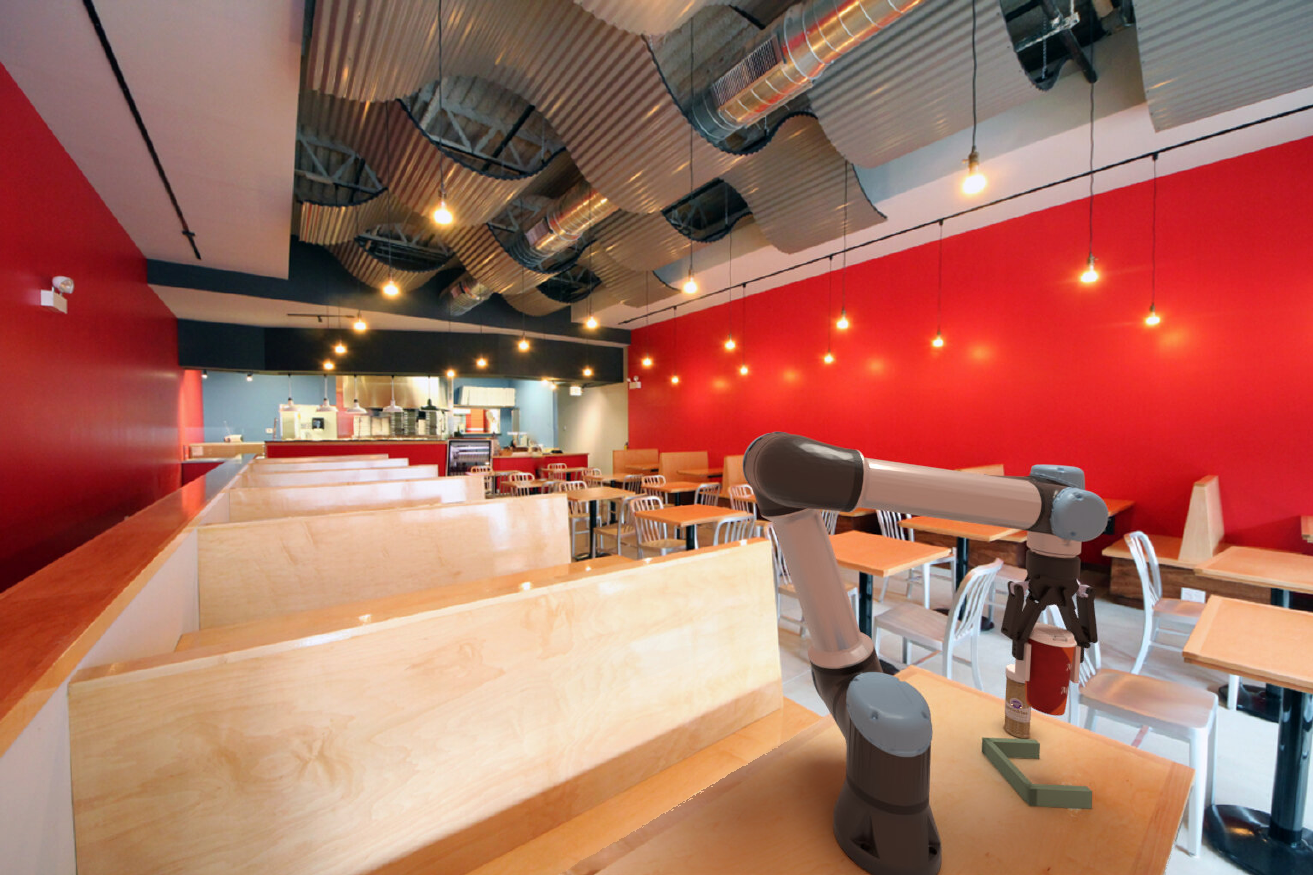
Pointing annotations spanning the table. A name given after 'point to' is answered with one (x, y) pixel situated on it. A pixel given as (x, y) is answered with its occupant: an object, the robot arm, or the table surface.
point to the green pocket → (1031, 793)
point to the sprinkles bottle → (1016, 705)
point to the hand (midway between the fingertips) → (1046, 677)
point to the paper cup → (1049, 668)
